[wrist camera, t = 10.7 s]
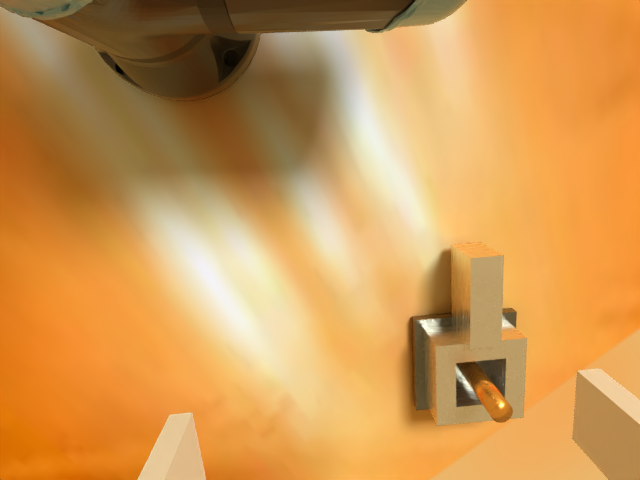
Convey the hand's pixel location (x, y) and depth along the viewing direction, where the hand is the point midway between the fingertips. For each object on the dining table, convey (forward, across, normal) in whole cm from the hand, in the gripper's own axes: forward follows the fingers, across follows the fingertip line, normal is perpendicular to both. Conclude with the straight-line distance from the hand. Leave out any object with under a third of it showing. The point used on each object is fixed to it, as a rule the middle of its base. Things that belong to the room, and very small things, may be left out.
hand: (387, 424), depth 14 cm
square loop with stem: (+27, +13, -11) cm, 32 cm away
